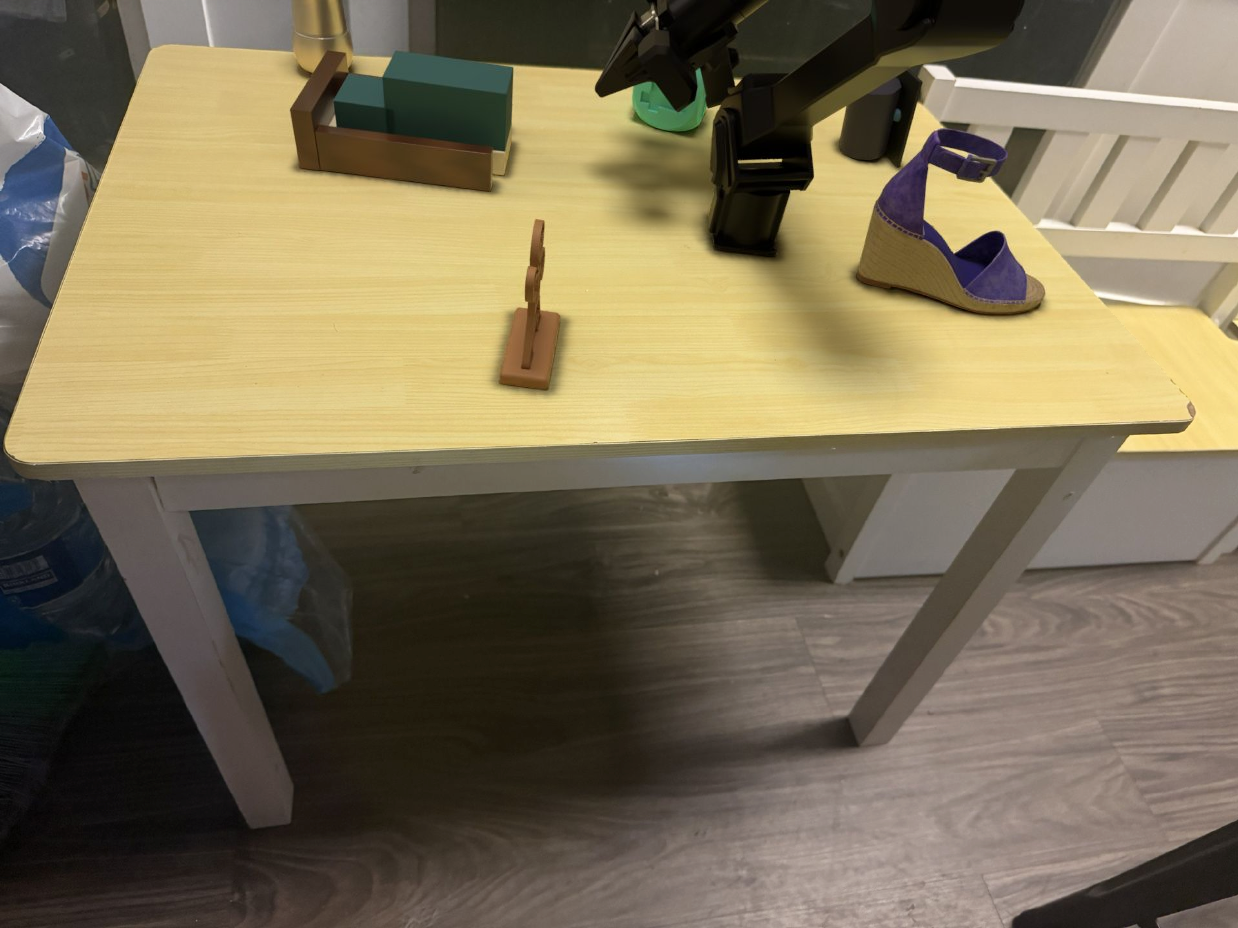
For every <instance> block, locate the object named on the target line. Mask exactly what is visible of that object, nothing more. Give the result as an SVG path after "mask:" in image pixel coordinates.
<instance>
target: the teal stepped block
mask: <svg viewBox="0 0 1238 928" xmlns="http://www.w3.org/2000/svg"><path fill="white" fill-rule="evenodd" d="M385 68H386V69H385V70H384V72H383V74H382V76H381V77H382V78H377V77H370V76H363V75H356V74H357V73H356V74H348V76H347V78H346V79H345V81H344V83H343V85H342V86H341V88H340V90H339V92H338V93H337V95H336V97H335V98H334V100H333V103H334V110H335V115H334V117H333V119H332V120H331V122H330V124H329V126H334V127H341V128H349V129H357V130H364V131H372V132H380V133H388V134H395V135H403V136H411V137H418V138H426V139H434V140H441V141H449V142H457V143H465V144H472V145H480V146H488V147H493V175H496V176H497V175H498V176H505V173H506V169H507V164H508V161H509V156H510V152H511V151H510V150H511V146H512V131H513V97H514V96H513V95H514V66H510V65H503V64H502V65H501V64H496V63H488V62H482V61H481V62H480V61H475V60H474V61H473V60H466V59H461V58H452V57H445V56H439V55H432V54H431V55H430V54H424V53H416V52H410V51H403V50H394V52H393V55H392V56H391V58H390V61H389V62H388V64H387V66H386V67H385Z"/></svg>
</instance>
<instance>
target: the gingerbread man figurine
mask: <svg viewBox="0 0 1238 928" xmlns="http://www.w3.org/2000/svg"><path fill="white" fill-rule="evenodd" d="M545 228H546V226H545V220H544V219H538V218H535V220H534V223H533V228H532V234H531V242H530V251H529V265H528V266H527V268H526V275H525V282H524V283H525V284H524V301H525V302H526V303H527V307H520V306H519V307H516V308H515V310H514V314H513V318H512V323H511V327H510V331H509V334H508V339H507V342H506V347H505V351H504V355H503V359H502V363H501V366H500V372H499V383H500V384H502V385H509V386H516V387H522V388H531V389H536V390H537V389H538V390H547V389H549V385H550V380H551V379H550V378H551V375H552V374H551V373H552V368H553V362H554V357H555V352H556V347H557V340H558V335H559V330H560V324H561V315H560V313H558V312H556V311H555V312H554V311H549V310H541V283H542V282H541V281H543V279H544V272H545V263H546V247H545V246H544V241H545Z"/></svg>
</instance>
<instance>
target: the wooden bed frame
mask: <svg viewBox="0 0 1238 928" xmlns="http://www.w3.org/2000/svg"><path fill="white" fill-rule="evenodd" d="M348 74H356V75H363V76H370V77H377V78H382V76H378V75H371V74H365V73H355V72H349V68H348V64H347V55H346V53H344V52H337V51H330V50H327V51H326V53H325V55H324V56H323V58H322V59H321V61H320V62H319V64H318V66H317V67H316V69H315V70H314V72H313V73H311V74H310V76H309V79H308V80H307V81H306V83H305V85H304V86H303V88H302V89H301V91H299V94H298V96H297V97H296V98H295V100H294V102H293V103H292V105H291V106H290V108H289V112H290V113H289V114H290V120H291V125H292V131H293V136H294V142H295V148H296V154H297V160H298V165H299V169H306V170H313V171H326V172H333V173H342V174H350V175H358V176H366V177H372V178H373V177H374V178H381V179H382V178H383V179H389V180H398V181H406V182H414V183H421V184H430V185H437V186H445V187H453V188H460V189H469V190H476V191H477V190H478V191H486V192H491V191H492V186H493V175H494V174H493V147H488V146H480V145H472V144H465V143H457V142H449V141H441V140H434V139H426V138H418V137H411V136H403V135H395V134H388V133H380V132H372V131H364V130H357V129H349V128H341V127H334V126H329V124H330V122H331V120H332V119H333V117H334V115H335V110H334V103H333V100H334V98H335V97H336V95H337V93H338V92H339V90H340V88H341V86H342V85H343V83H344V81H345V79H346V78H347V76H348Z"/></svg>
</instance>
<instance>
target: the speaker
mask: <svg viewBox="0 0 1238 928" xmlns="http://www.w3.org/2000/svg"><path fill="white" fill-rule="evenodd" d="M923 83H924V82H923V80H921V79H920V78H919V77H918V76H917V75H916V74H915V73H914V72H913V71H912V70H911V69H910V68H909V69H908V70H906V71H904V72H903V73H901V74H899V75H898V76H896V77H894V78H893V79H891V80H889V81H888V82H886V83H884V84H883V85H881V86H879V87H878V88H876V89H874V90H872V91H871V92H869V93H867V94H866V95H864V96H862V97H861V98H859V99H857V100H856V101H854V102H852V103H851V104H849V105H847V106H846V107H845V111H844V116H843V122H842V126H841V132H840V135H839V142H838V145H839V151H840V152H841V153H842V154H843V155H844V156H848V157H850V158H853V159H856V160H871V161H873V160H876V159H879V158H880V157H881V156H883V155H885V156H886V157H887V158H888V159H889V160H890V161H891V163H892V164H893V165H894V166H895V167H896V168H900V167H901V166H902V162H903V157H904V154H905V149H906V146H907V142H908V139H909V136H910V132H911V127H912V123H913V120H914V116H915V114H916V109H917V106H918V101H919V99H920V98H919V97H920V95H921V90H922V87H923Z"/></svg>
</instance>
